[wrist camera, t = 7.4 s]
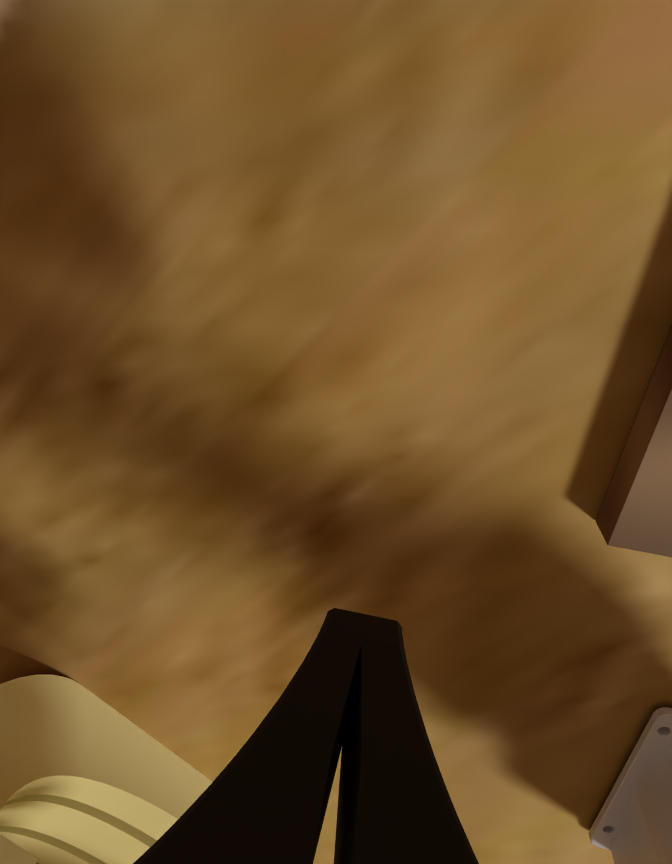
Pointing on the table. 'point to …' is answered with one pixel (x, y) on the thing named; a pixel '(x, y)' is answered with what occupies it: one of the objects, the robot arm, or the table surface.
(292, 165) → the table surface
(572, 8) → the table surface
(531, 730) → the table surface
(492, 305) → the table surface
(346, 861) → the robot arm
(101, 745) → the slatted curved stool
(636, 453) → the brown flat slab
